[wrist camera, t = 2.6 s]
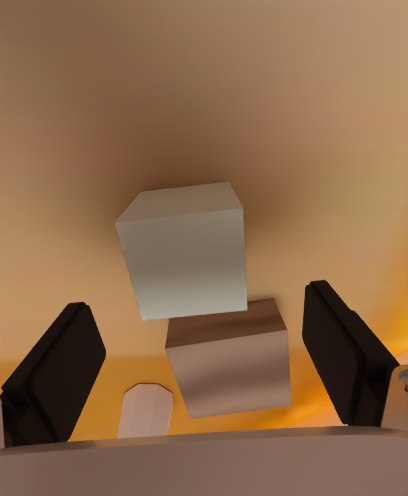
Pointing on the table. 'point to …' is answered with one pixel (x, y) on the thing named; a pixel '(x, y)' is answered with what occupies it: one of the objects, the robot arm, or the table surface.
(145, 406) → the pepper shaker
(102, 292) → the table surface
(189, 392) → the walnut block
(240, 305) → the sage block
